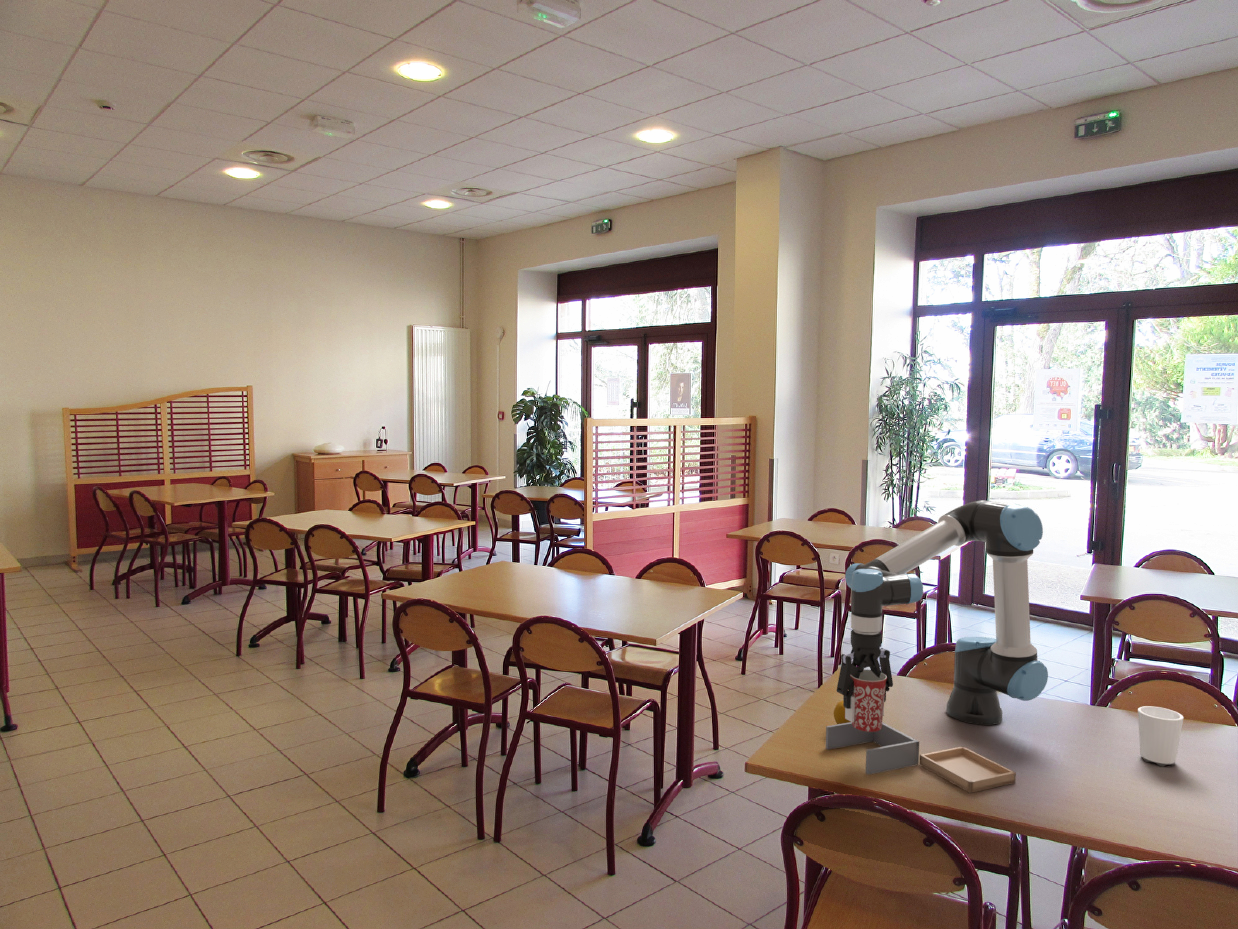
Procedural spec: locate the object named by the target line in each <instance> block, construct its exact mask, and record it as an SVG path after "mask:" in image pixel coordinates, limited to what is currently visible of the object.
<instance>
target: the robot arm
mask: <svg viewBox="0 0 1238 929" xmlns="http://www.w3.org/2000/svg"><path fill="white" fill-rule="evenodd" d="M1043 533H1044V528H1043V523H1042V520H1041V518H1040V516H1039V515H1038V513H1036V511H1034V509H1032V508H1030V507H1028V506H1024V505H1020V504H1017V503H1008V502H1001V501H991V500H976V501H975V500H974V501H971V502H968V503H966V504H963V505H960V506H958V507H956V508H954V509H951V510H950V511H948V512H947V513H945V514H943V515H941V516H940V517H939V518H938V522H936V523H935V524H933V525H931V526H930V527H928V528H926V529H924V530H923V531H921V532H918V533H917V534H916V535H914V536H913V537H910V538H908V539H907V540H905V541H903V542H902V543H900V544H898V545H897V546H895V547H894V548H892V549H890V550H888V551H887V552H885V553H883V554H881V555H880V556H878V557H876V558H874V559H872V560H870V561H869V562H867V563H853V564H850V566H848V567H847V569H846V571H845V574H844V580H845V583H846V586H847V587H848V588H850V592H851V594H850V595H851V596H850V598H851V599H850V601H851V602H850V606H851V608H850V611H851V612H850V628H851V630H850V644H851V651H850V653H848V654H844V653H842V654H841V656H840V660H841V663H840V670H839V675H838V680H837V686H836V693H838V694H840V695H842V696H843V700H842V701H844V702H843V706H844V707H845V719H847V720H849V721H851V722H854V715H855V697H854V696H853V695H852V694H853V691H854V680H853V679H852V678H851V676H850V675H852V676H853V677H855V678H857V679H859V676H860V674H861V672H863V670H864V669H866V668H870V669H869V670H871V671H872V672H873V673H874V674H875V675H876V676H877V677H878V678H880V674H881V673H884V674H885V675H886V676H887V679H886V685H885V696H884V703H886V700H887V692H889V691H890V688H892V687H893V686H894V682H893V681H894V680H893V676H892V675H893V674H892V670H891V668H892V667H891V664H890V663H891V662H890V657H891V651H890V650H888V649H886V648H883V647H882V638H883V636H882V632H881V631H882V629H883V607H887V606H900V605H909V604H913V603H918V602H919V601H920V600H921V599H922V598H923V595H924V584H923V582H922V580H921V578H920V577H919V576H918V575H916V574H914V573H908V572H910V571H913V570H914V569H916V568H918V567H919V566H921V565H922V564H924V563H926V562H927V561H929V560H931V559H933V558H935V557H936V556H938V555H940V554H942V553H943V552H945V551H946V550H948V549H950V548H951V547H953V546H955V547H959V546H962V545H964V544H966V543H967V542H983V543H985V551H986V552H985V553H986V554H987V556H989V558H991V559H992V572H993V574H992V575H993V596H994V616H995V617H994V618H995V619H994V620H995V638H993V637H986V636H985V637H984V636H965V637H960V638H958V639H957V640H956V643H955V650H954V666H953V668H954V669H953V688H952V690H951V693H950V695H949V699H948V701H947V702H946V707H945V708H946V710H945V712H946V714H947V715H948V716H949V717H951V718H953V719H956V720H958V721H961V722H965V723H969V724H973V725H983V726H985V725H989V726H991V725H996V724H999V723H1001V722H1002V721H1003V710H1002V707H1001V705H1000V701H999V696H998V692H1000V693H1001V694H1004V695H1007V696H1008V697H1010V698H1012V699H1017V700H1019V701H1023V702H1024V701H1025V702H1026V701H1032V700H1034V699H1036V698H1037V697H1038V696H1040V695H1041V694H1042V692H1043V691H1044V690H1045V688H1046V686H1047V683H1048V680H1049V671H1048V668H1047V666H1046V665H1045V664H1044V663H1043V662H1042V661H1040V660H1038V650H1037V647H1035V646H1034V645H1033V644H1032V643H1031V642H1032V641H1031V622H1030V621H1031V620H1030V618H1031V617H1030V598H1029V597H1030V596H1029V593H1030V592H1029V590H1030V589H1029V570H1028V569H1029V568H1028V566H1029V565H1028V559H1029V558H1031V556H1033V554H1034V549H1035V548H1037V547H1039V545H1040V543H1041V542H1040V540H1042V538H1043ZM878 659H879V660H878ZM884 716H885V706H884V707H883V717H884Z"/></svg>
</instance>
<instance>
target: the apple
mask: <svg viewBox="0 0 1238 929" xmlns="http://www.w3.org/2000/svg"><path fill="white" fill-rule="evenodd" d="M843 702H844V701H843V700H841V701H839V702H837V704H836V705H835V708H834V710H833V718H834V720H835V723H836V725H837V724H843V723H849V722H851V721H849V720H847V719H845V707H844V706H843Z"/></svg>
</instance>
